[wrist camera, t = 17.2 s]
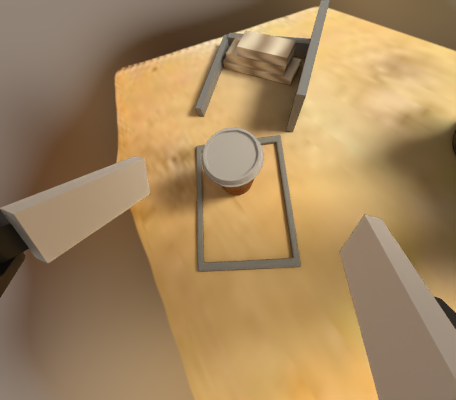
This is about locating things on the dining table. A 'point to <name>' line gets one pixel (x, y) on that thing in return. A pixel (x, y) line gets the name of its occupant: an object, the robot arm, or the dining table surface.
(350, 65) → the dining table surface
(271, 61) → the offcut stack
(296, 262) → the empty picture frame
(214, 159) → the disposable coffee cup
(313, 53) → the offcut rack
